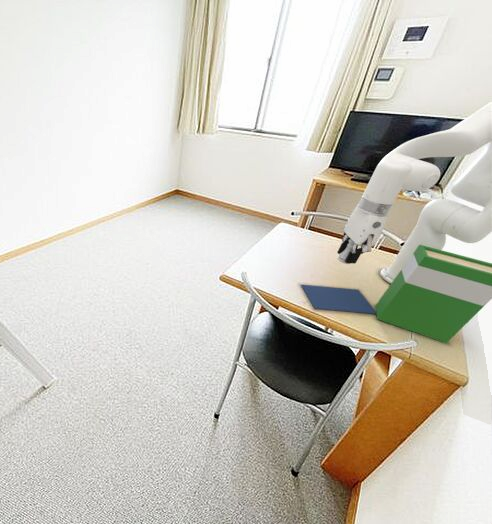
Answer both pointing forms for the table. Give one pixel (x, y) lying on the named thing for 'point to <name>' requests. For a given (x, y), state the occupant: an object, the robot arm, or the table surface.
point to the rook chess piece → (346, 252)
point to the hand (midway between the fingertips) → (346, 257)
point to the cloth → (338, 299)
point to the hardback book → (436, 293)
